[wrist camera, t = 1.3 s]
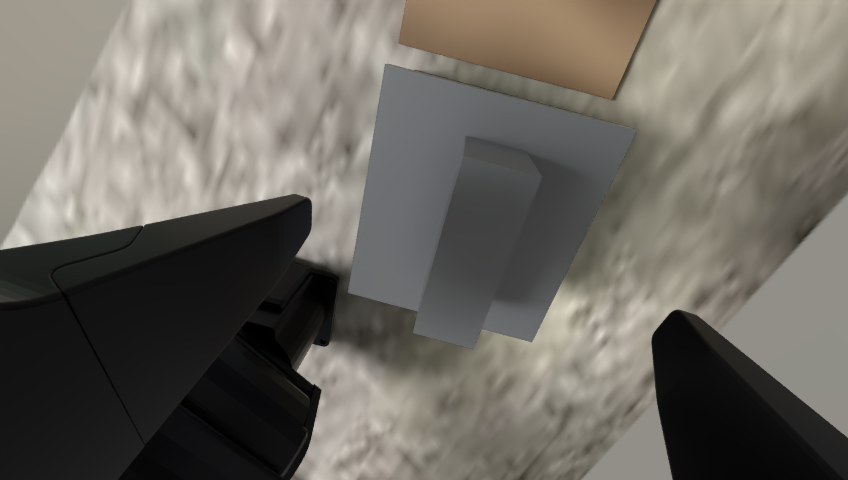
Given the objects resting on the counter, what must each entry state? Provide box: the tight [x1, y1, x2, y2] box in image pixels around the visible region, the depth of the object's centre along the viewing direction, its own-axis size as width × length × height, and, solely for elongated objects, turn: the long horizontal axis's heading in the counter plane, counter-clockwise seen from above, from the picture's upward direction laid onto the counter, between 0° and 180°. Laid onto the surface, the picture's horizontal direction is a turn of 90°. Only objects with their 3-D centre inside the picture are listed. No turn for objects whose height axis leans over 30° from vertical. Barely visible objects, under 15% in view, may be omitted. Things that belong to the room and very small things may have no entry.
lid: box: [348, 64, 637, 349], centre depth 14 cm, size 10×9×6 cm
